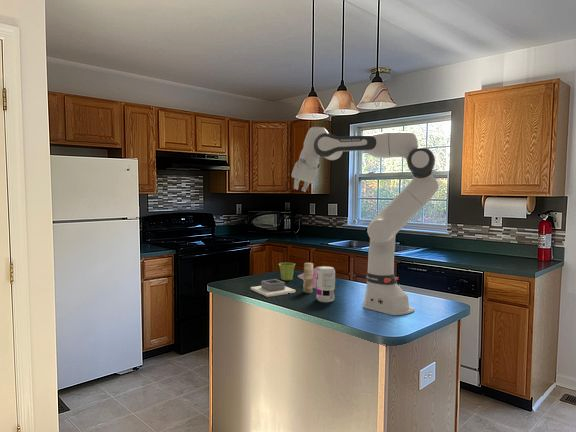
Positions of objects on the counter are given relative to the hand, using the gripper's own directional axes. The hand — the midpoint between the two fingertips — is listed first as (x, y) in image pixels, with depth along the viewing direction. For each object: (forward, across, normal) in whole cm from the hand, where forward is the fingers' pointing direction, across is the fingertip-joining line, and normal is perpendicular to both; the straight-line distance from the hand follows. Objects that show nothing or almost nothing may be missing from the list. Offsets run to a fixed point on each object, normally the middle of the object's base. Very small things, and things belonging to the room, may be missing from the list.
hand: (299, 190), depth 192 cm
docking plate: (+51, +8, +2) cm, 52 cm away
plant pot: (+50, +34, +7) cm, 61 cm away
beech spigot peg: (+46, +14, -14) cm, 51 cm away
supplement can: (+44, +4, -26) cm, 52 cm away
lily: (+46, +26, -10) cm, 54 cm away
